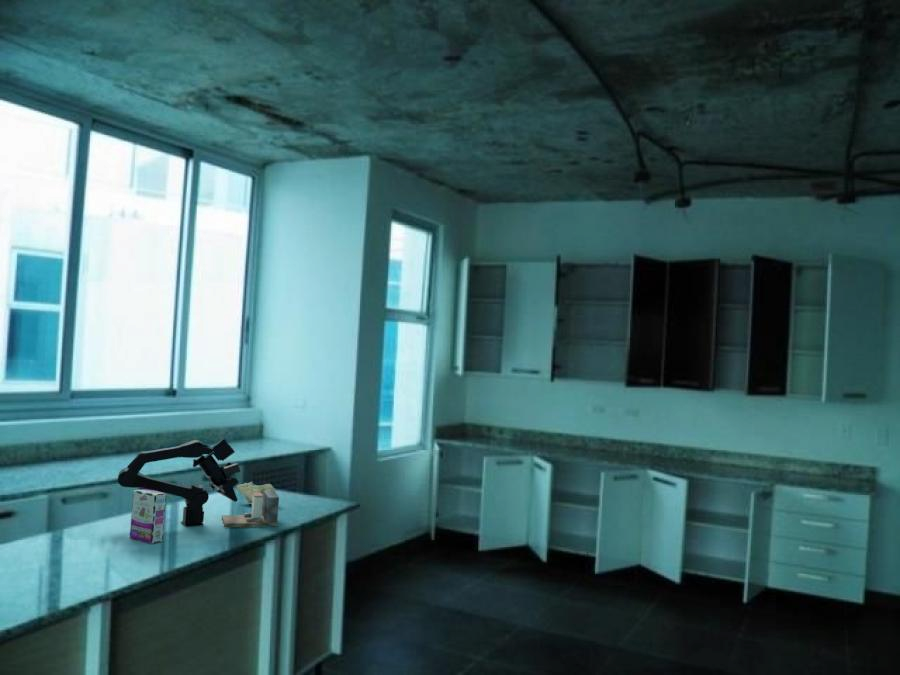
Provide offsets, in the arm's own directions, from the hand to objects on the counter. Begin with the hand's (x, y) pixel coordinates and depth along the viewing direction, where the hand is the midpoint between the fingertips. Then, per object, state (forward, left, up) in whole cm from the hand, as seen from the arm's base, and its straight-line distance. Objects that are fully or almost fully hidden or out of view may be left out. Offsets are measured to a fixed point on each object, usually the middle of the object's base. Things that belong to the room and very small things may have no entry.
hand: (236, 501), depth 276 cm
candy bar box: (-35, -11, -9) cm, 38 cm away
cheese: (+18, +26, -9) cm, 32 cm away
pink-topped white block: (+7, -2, -7) cm, 10 cm away
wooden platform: (+5, -2, -8) cm, 10 cm away
